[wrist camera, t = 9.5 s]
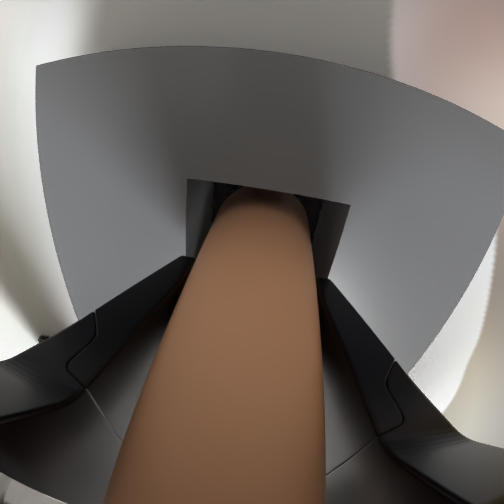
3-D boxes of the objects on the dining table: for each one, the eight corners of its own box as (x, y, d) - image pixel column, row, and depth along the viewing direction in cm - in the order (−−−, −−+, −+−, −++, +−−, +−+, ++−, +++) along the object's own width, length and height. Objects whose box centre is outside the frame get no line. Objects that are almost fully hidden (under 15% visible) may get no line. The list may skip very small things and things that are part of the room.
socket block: (113, 281, 16) (81, 330, 13) (98, 60, 9) (36, 65, 6) (385, 326, 16) (400, 382, 12) (469, 120, 9) (526, 144, 6)
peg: (214, 258, 12) (127, 526, 4) (219, 177, 10) (58, 508, 2) (298, 271, 12) (291, 553, 4) (317, 193, 10) (363, 558, 2)
